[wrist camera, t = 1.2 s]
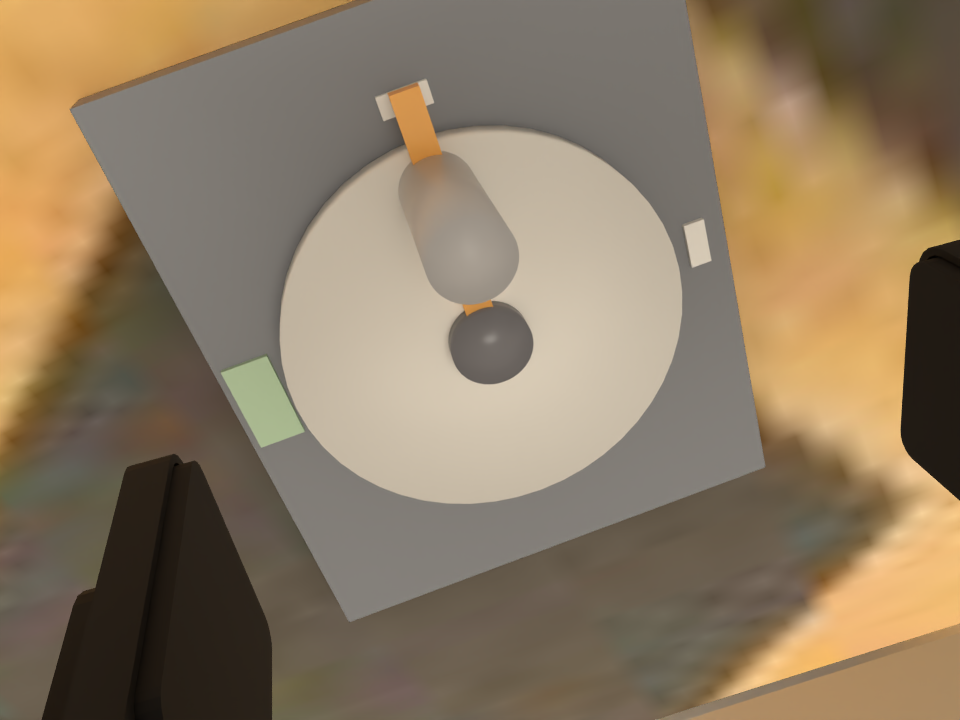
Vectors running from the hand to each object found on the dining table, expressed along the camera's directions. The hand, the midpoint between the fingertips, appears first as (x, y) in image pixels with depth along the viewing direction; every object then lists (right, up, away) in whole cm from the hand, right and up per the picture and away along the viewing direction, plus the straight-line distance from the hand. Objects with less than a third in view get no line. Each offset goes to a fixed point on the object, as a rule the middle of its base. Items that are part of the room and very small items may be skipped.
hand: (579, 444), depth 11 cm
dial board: (-2, +3, +24) cm, 24 cm away
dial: (-1, +3, +22) cm, 22 cm away
